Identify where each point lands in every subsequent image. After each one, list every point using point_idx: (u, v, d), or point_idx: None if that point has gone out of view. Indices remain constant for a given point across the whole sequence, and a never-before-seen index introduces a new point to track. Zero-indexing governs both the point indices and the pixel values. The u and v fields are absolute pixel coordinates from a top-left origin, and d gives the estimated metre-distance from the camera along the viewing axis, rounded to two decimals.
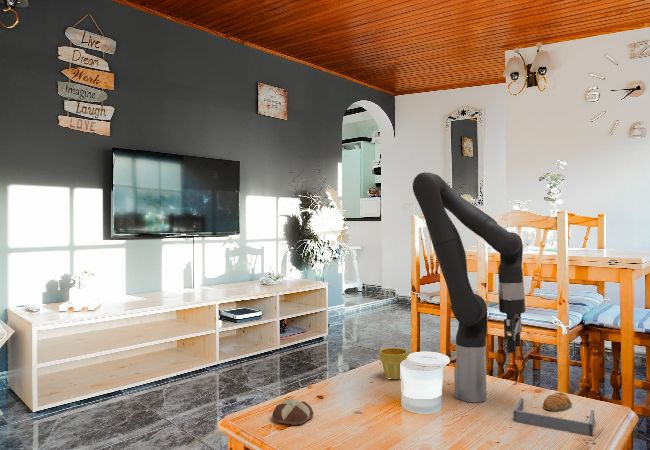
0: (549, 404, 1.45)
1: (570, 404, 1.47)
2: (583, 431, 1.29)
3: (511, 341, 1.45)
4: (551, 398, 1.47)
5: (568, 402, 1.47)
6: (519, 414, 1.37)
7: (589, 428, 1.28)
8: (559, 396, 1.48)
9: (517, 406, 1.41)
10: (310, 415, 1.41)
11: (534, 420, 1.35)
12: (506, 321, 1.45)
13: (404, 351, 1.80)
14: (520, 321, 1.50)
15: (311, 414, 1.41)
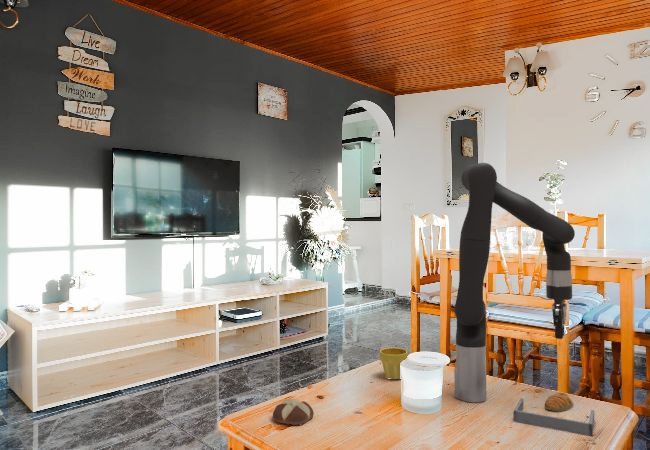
0: (550, 405, 1.45)
1: (571, 404, 1.47)
2: (583, 431, 1.29)
3: (559, 328, 1.54)
4: (552, 398, 1.47)
5: (569, 402, 1.46)
6: (519, 414, 1.37)
7: (589, 428, 1.28)
8: (560, 396, 1.48)
9: (517, 406, 1.41)
10: (310, 415, 1.41)
11: (534, 420, 1.35)
12: (555, 311, 1.51)
13: (404, 351, 1.80)
14: (566, 308, 1.57)
15: (311, 414, 1.41)
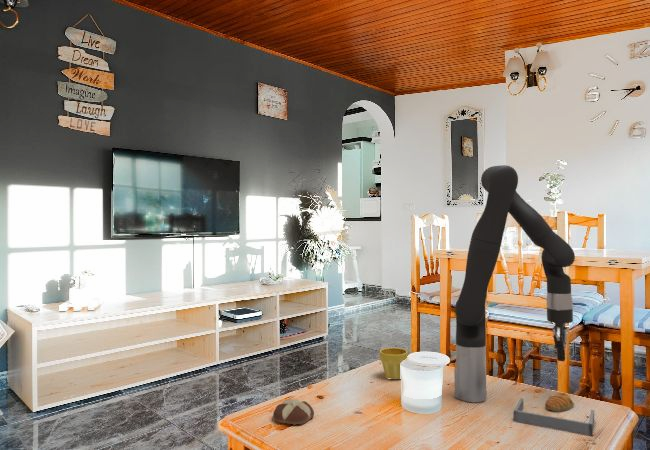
0: (551, 405, 1.45)
1: (572, 404, 1.47)
2: (583, 431, 1.29)
3: None
4: (553, 398, 1.47)
5: (570, 402, 1.46)
6: (519, 414, 1.37)
7: (589, 428, 1.28)
8: (561, 396, 1.47)
9: (517, 406, 1.41)
10: (310, 415, 1.41)
11: (534, 420, 1.35)
12: (556, 338, 1.52)
13: (404, 351, 1.80)
14: (567, 331, 1.56)
15: (311, 414, 1.41)
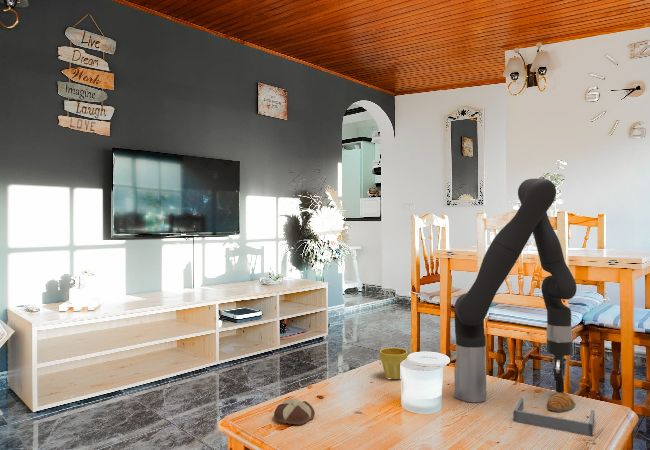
0: (553, 405, 1.45)
1: (573, 404, 1.47)
2: (583, 431, 1.29)
3: None
4: (555, 399, 1.47)
5: (571, 402, 1.46)
6: (519, 414, 1.37)
7: (589, 428, 1.28)
8: (562, 396, 1.47)
9: (517, 406, 1.41)
10: (311, 415, 1.41)
11: (534, 420, 1.35)
12: (556, 370, 1.51)
13: (404, 351, 1.80)
14: (566, 362, 1.56)
15: (312, 414, 1.41)
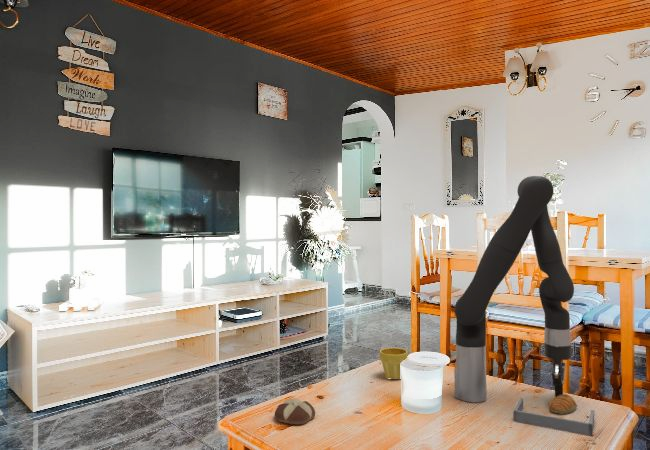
0: (556, 407, 1.42)
1: (576, 406, 1.45)
2: (583, 431, 1.29)
3: None
4: (557, 400, 1.45)
5: (574, 404, 1.44)
6: (519, 414, 1.37)
7: (589, 428, 1.28)
8: (565, 398, 1.45)
9: (517, 406, 1.41)
10: (312, 415, 1.41)
11: (534, 420, 1.35)
12: (554, 375, 1.47)
13: (404, 351, 1.80)
14: (565, 367, 1.51)
15: (313, 414, 1.41)
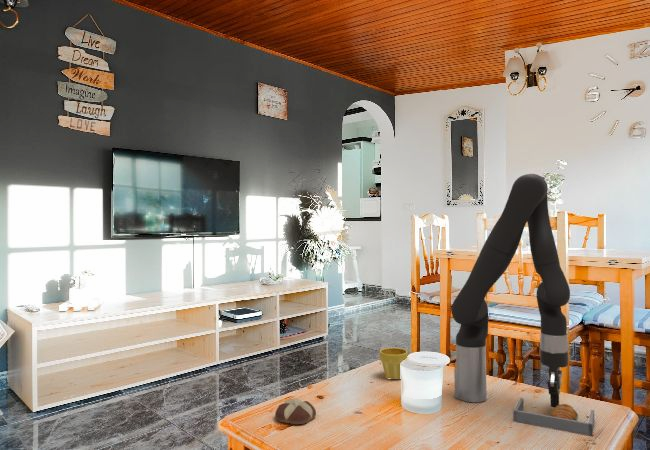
0: None
1: (577, 416, 1.38)
2: (583, 431, 1.29)
3: None
4: (560, 412, 1.37)
5: (576, 414, 1.38)
6: (519, 414, 1.37)
7: (589, 428, 1.28)
8: (566, 408, 1.38)
9: (517, 406, 1.41)
10: (312, 415, 1.41)
11: (534, 420, 1.35)
12: (550, 384, 1.39)
13: (404, 351, 1.80)
14: None
15: (313, 414, 1.41)
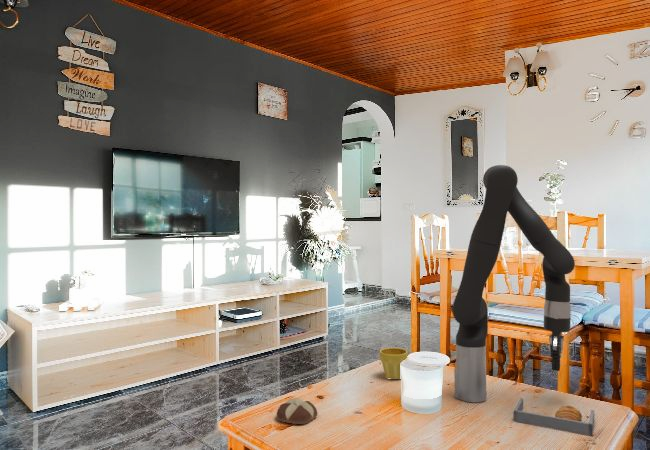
0: None
1: (581, 417, 1.37)
2: (583, 431, 1.29)
3: None
4: (565, 414, 1.36)
5: (580, 416, 1.36)
6: (519, 414, 1.37)
7: (589, 428, 1.28)
8: (571, 410, 1.37)
9: (517, 406, 1.41)
10: (314, 415, 1.41)
11: (534, 420, 1.35)
12: (553, 347, 1.47)
13: (404, 351, 1.80)
14: (563, 340, 1.52)
15: (314, 414, 1.41)
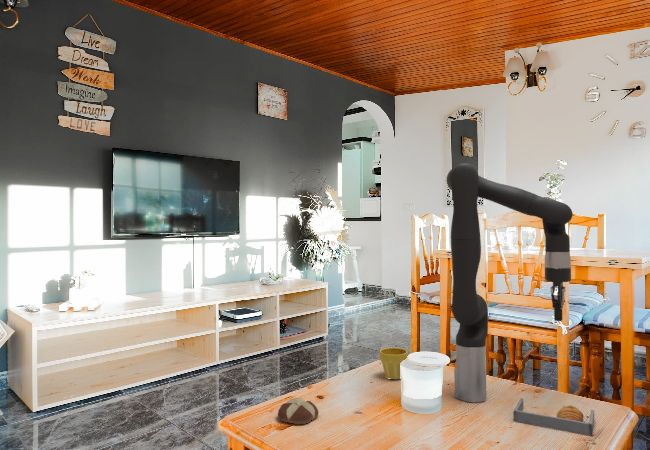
0: None
1: (583, 417, 1.37)
2: (583, 431, 1.29)
3: None
4: (567, 414, 1.35)
5: (582, 415, 1.36)
6: (519, 414, 1.37)
7: (589, 428, 1.28)
8: (573, 410, 1.37)
9: (517, 406, 1.41)
10: (315, 415, 1.41)
11: (534, 420, 1.35)
12: (554, 296, 1.49)
13: (404, 351, 1.80)
14: None
15: (316, 414, 1.41)
